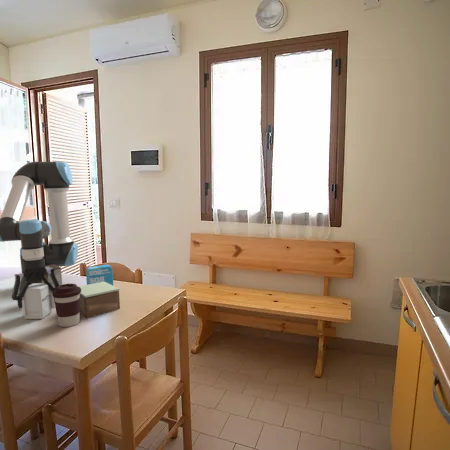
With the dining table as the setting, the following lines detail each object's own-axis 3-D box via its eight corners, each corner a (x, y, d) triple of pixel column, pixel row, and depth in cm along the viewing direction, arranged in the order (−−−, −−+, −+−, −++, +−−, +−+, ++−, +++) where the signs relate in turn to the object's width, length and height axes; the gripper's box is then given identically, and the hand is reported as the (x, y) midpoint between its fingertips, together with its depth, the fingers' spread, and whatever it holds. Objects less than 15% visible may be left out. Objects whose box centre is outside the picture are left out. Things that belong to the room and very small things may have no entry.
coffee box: (42, 300, 152) (39, 266, 150) (56, 296, 157) (54, 263, 155) (49, 304, 146) (46, 269, 144) (64, 300, 151) (61, 267, 149)
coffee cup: (54, 331, 120) (50, 291, 118) (56, 320, 129) (52, 284, 127) (83, 326, 124) (80, 288, 122) (83, 316, 133) (80, 280, 131)
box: (74, 308, 141) (72, 291, 140) (105, 300, 151) (104, 283, 150) (87, 318, 131) (85, 299, 130) (120, 308, 141) (118, 290, 140)
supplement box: (42, 319, 130) (40, 288, 129) (24, 319, 131) (21, 288, 129) (52, 311, 138) (50, 282, 136) (35, 311, 138) (32, 282, 136)
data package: (88, 293, 161) (87, 269, 159) (87, 290, 165) (85, 267, 163) (113, 288, 167) (112, 265, 166) (111, 286, 171) (110, 264, 170)
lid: (71, 289, 140) (71, 287, 140) (104, 283, 150) (104, 281, 150) (85, 297, 129) (85, 295, 129) (119, 290, 139) (119, 288, 139)
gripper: (2, 265, 120) (8, 322, 123) (66, 255, 136) (70, 306, 139) (-2, 261, 126) (4, 316, 129) (60, 252, 141) (64, 301, 144)
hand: (38, 311), depth 134 cm, fingers closed on supplement box, 10 cm apart
